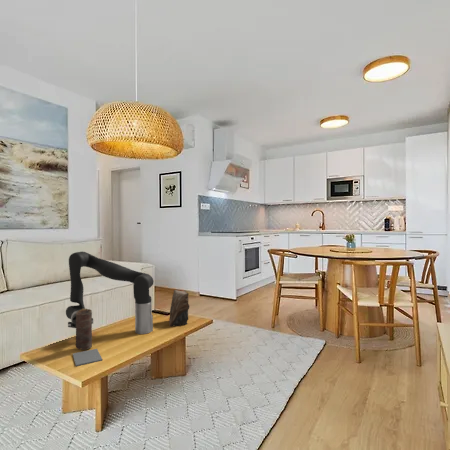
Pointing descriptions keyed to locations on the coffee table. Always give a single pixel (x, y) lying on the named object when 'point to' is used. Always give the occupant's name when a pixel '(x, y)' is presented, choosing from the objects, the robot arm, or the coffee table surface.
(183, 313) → the dark brown rough block
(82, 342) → the reddish brown cylinder
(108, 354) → the coffee table surface
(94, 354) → the mat
